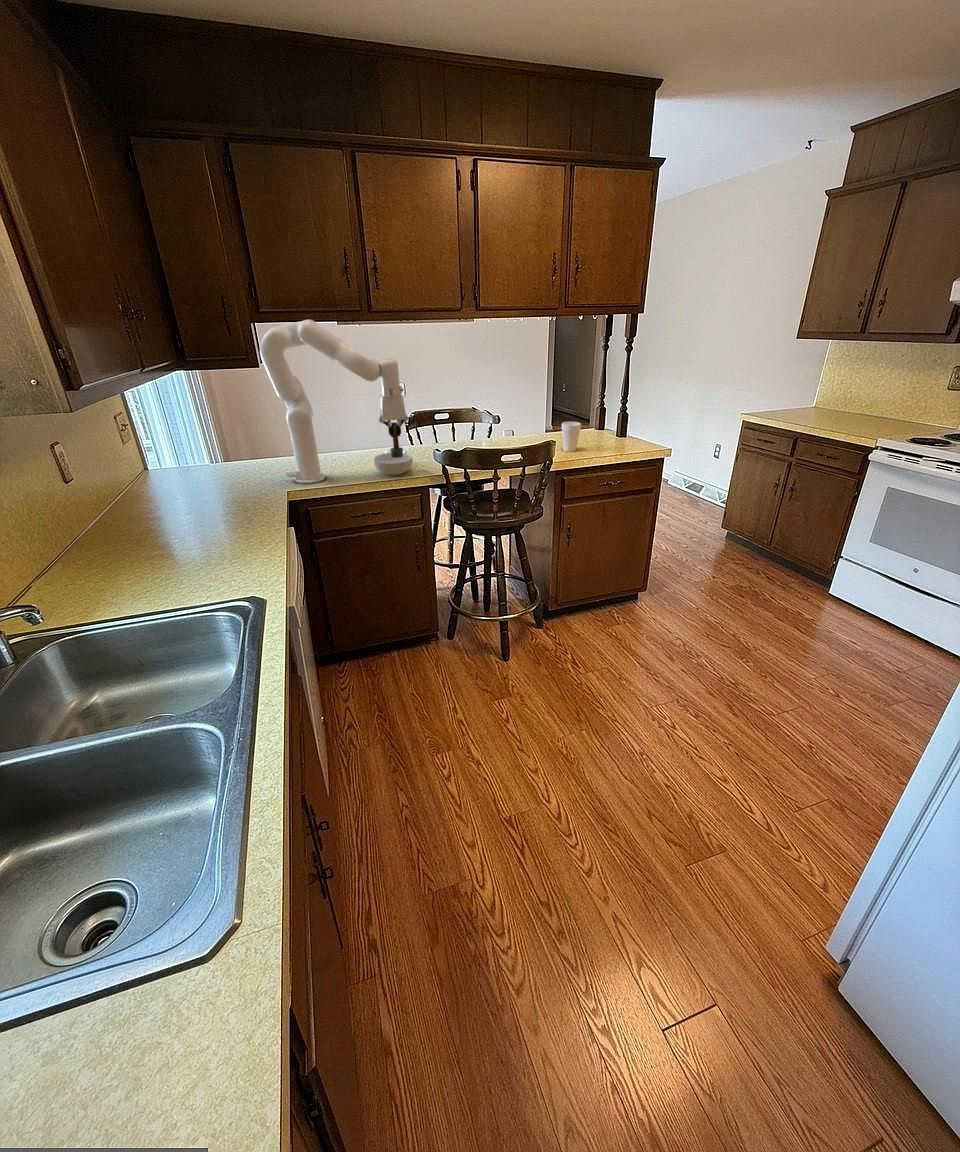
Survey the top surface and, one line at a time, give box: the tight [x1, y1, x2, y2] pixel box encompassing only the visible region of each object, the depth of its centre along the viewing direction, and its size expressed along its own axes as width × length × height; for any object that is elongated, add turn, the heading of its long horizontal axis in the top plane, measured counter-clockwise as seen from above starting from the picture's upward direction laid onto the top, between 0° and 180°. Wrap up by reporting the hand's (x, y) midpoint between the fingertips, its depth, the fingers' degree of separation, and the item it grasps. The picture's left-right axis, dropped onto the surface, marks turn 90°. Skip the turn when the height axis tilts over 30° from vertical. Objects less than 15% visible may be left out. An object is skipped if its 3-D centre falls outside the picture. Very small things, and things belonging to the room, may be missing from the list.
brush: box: [389, 421, 404, 458], centre depth 225 cm, size 6×6×14 cm
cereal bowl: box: [373, 452, 413, 476], centre depth 229 cm, size 17×17×7 cm
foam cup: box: [561, 421, 582, 452], centre depth 259 cm, size 10×9×13 cm
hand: (395, 435), depth 224 cm, fingers closed on brush, 2 cm apart
